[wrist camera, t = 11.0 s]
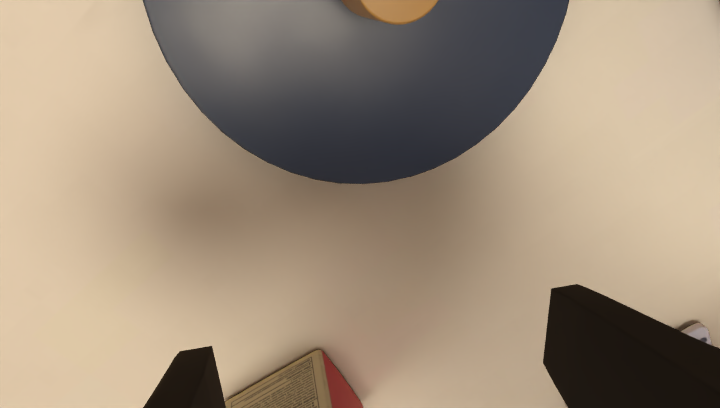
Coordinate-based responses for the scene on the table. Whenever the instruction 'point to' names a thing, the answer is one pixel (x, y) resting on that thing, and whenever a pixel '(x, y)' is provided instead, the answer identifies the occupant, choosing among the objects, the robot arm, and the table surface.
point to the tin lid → (356, 76)
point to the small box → (300, 387)
